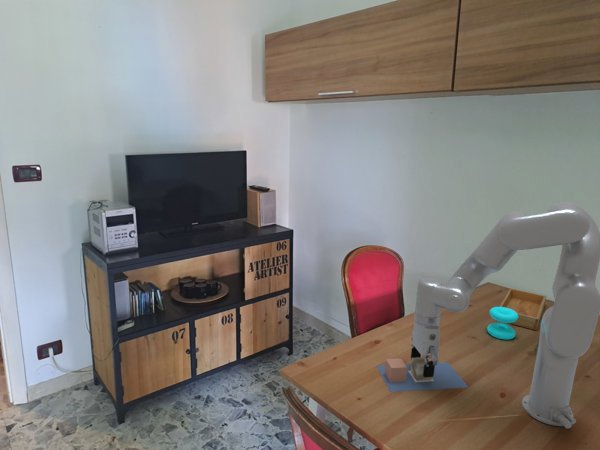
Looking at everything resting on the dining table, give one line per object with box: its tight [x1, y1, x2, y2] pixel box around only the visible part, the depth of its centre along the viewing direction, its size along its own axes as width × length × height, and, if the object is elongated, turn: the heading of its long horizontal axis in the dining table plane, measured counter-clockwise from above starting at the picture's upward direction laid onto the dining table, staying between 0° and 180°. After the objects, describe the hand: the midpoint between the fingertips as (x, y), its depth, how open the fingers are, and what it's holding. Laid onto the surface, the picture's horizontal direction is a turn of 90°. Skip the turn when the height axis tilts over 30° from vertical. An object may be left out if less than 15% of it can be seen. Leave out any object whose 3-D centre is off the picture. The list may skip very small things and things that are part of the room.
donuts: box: [486, 306, 518, 341], centre depth 162 cm, size 10×10×10 cm
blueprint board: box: [376, 361, 469, 393], centre depth 134 cm, size 14×25×1 cm, turn 97°
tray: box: [498, 287, 547, 331], centre depth 183 cm, size 31×15×6 cm, turn 145°
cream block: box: [410, 356, 432, 381], centre depth 133 cm, size 5×5×5 cm
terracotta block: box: [385, 358, 407, 383], centre depth 132 cm, size 5×5×5 cm
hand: (421, 367), depth 133 cm, fingers open, 9 cm apart
